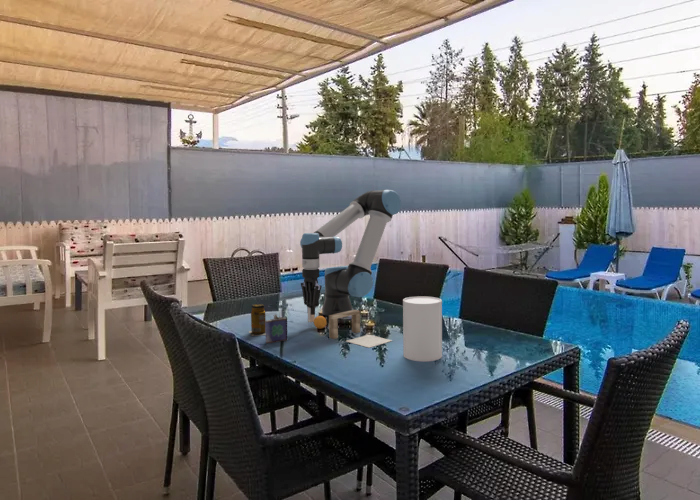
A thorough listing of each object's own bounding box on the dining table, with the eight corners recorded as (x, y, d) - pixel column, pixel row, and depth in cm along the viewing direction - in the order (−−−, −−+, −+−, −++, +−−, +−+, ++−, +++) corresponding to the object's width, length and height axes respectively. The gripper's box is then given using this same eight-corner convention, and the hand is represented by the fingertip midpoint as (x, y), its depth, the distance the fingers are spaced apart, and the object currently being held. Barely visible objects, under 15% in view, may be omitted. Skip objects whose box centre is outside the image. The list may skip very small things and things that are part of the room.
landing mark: (369, 335, 214) (368, 334, 214) (392, 341, 204) (392, 340, 204) (345, 341, 205) (345, 340, 205) (368, 347, 196) (368, 347, 196)
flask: (267, 343, 204) (266, 316, 203) (264, 342, 207) (263, 315, 206) (288, 340, 209) (288, 313, 208) (285, 338, 211) (285, 312, 210)
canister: (415, 363, 176) (415, 305, 174) (396, 353, 189) (396, 298, 187) (449, 358, 182) (449, 301, 180) (428, 348, 194) (428, 295, 192)
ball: (321, 326, 231) (320, 313, 230) (329, 328, 227) (328, 315, 226) (311, 328, 227) (311, 316, 226) (319, 330, 223) (319, 317, 222)
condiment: (265, 330, 226) (264, 302, 225) (269, 334, 218) (268, 306, 217) (248, 331, 223) (247, 304, 222) (251, 336, 215) (250, 308, 214)
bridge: (329, 337, 211) (328, 315, 210) (355, 330, 221) (354, 309, 220) (334, 338, 209) (333, 316, 208) (360, 332, 219) (359, 310, 218)
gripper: (295, 267, 230) (296, 320, 232) (312, 270, 220) (312, 325, 222) (309, 266, 235) (309, 318, 237) (326, 269, 225) (327, 322, 227)
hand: (311, 321), depth 230 cm, fingers closed
